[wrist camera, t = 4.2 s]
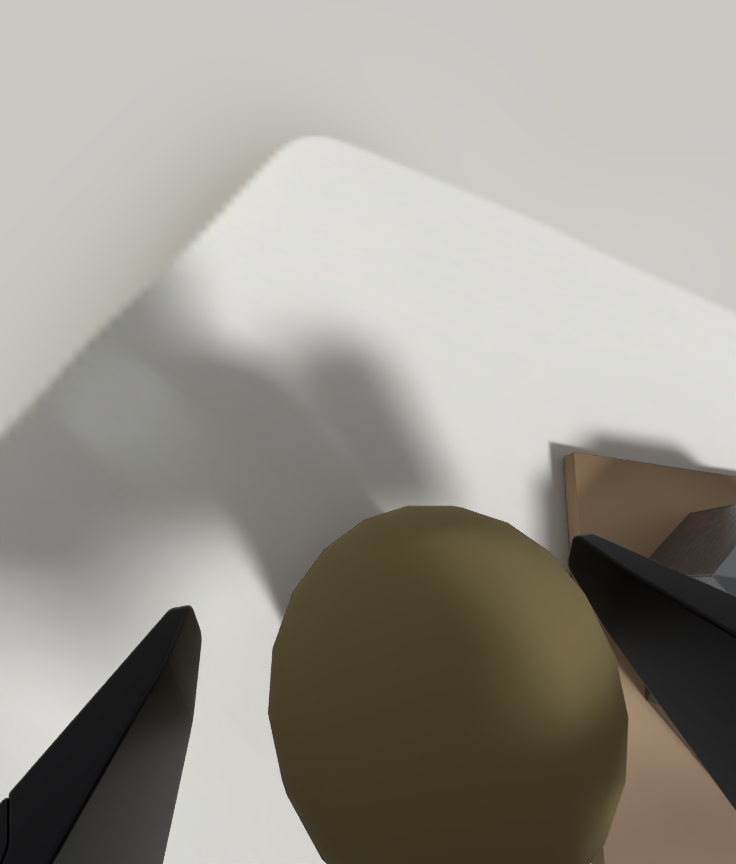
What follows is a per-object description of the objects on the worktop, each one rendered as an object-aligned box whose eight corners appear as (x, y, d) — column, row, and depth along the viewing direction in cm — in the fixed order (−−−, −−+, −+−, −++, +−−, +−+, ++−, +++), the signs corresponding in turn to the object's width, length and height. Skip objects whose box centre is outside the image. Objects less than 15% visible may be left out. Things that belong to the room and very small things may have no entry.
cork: (304, 731, 13) (214, 1234, 3) (287, 550, 15) (201, 487, 5) (471, 693, 14) (836, 985, 4) (433, 526, 16) (609, 431, 6)
